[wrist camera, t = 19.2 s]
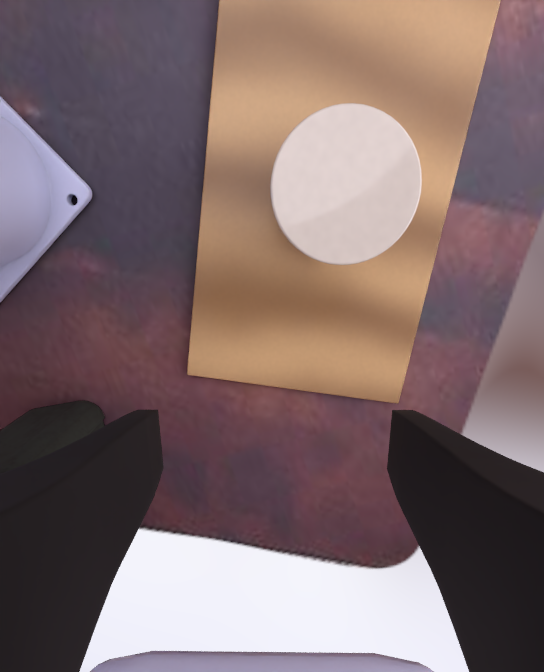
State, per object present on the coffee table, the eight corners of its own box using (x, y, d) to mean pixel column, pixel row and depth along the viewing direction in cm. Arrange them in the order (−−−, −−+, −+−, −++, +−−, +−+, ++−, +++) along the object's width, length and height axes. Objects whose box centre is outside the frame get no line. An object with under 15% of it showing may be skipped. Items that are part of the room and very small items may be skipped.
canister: (250, 200, 18) (238, 184, 12) (331, 119, 17) (356, 63, 11) (319, 279, 19) (337, 294, 13) (400, 206, 18) (453, 191, 12)
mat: (395, 400, 21) (398, 404, 20) (188, 371, 21) (186, 375, 20) (500, -19, 16) (508, -27, 15) (226, -65, 15) (225, -75, 15)
